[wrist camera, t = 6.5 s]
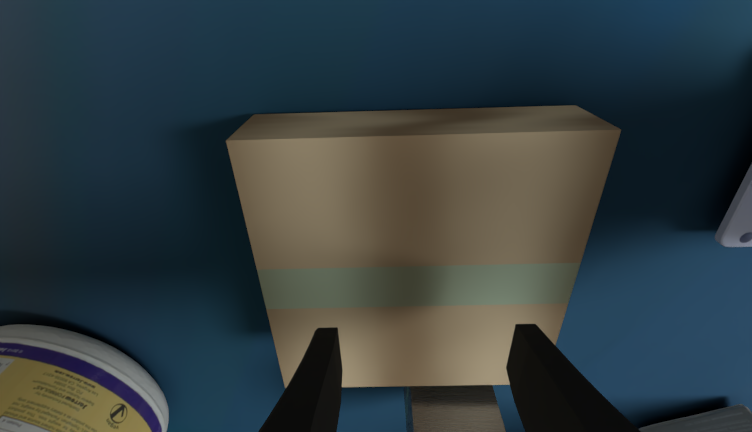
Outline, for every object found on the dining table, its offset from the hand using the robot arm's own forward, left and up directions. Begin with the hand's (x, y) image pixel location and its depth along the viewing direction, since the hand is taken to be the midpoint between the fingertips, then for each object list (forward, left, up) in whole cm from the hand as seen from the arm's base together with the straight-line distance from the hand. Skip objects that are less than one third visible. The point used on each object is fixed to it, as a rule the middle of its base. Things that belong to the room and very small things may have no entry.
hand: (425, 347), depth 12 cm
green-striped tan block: (0, 0, -6) cm, 6 cm away
